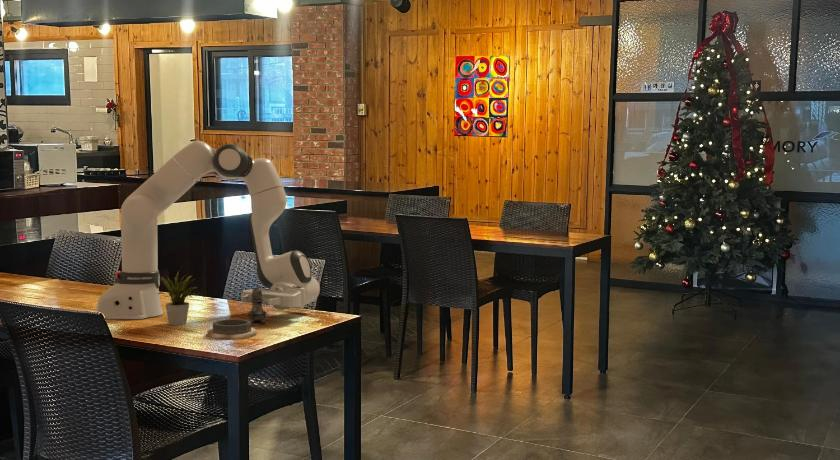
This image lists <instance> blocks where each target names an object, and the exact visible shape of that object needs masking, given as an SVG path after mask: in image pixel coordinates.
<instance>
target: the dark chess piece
mask: <svg viewBox="0 0 840 460" xmlns="http://www.w3.org/2000/svg"><path fill="white" fill-rule="evenodd" d="M252 289H253V291H252V300H251V301H252V303H251V310H250V311H248V312H247V315H248V318H249V319H250V321H251V326H264V325H266V323H267V322H265V321H263V320H265V318H266V316H267V312H268V311H265V310H264V309H263V304H262V301H263V300H262V290H261V289H262V288H260V287H259V286H258V285H256V287H255V288H252Z"/></svg>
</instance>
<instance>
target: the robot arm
mask: <svg viewBox="0 0 840 460" xmlns="http://www.w3.org/2000/svg"><path fill="white" fill-rule="evenodd" d="M208 173H214V174H215V175H217V176H219V177H220V178H222V179H224V180H227V181H235V180H236V181H237V180H239V179H241V180H242V181H243V182H244V183H245V185H246V187H247V189H248V192H249V196H250V200H251V203H252V211H251V214H250V217H249V228H250V233H251V239H252V245H253V251H254V255H255V261H256V277H257V280H258V281H259V283H260V284H261V285H262V286H263V287H265V288H267V289H265V288H264V289H262V288H260V289H261V290H262V300H263V301H262V305H266V306H273V307H274V309H276V310H278V311H279V310H280V311H281V310H282V311H284V310H290V309H303V308H305V305H308V304H311V303H312V302H314V301H315V300H317V298H318V297H319V295H320V291H321V287H320V282H318V280H317V279H316V278H315V277H314V276H313V275H312V265H311V263H310V262H311V261H310V260H309V258H308V257H307V256H306V255H305V254H304V253H303V252H302V251H300V250H298V249H297V250H296V249H295V250H291V251H288V252H285V253H283V254H279V255H277V256H273V251H272V246H271V241H270V228H271V226H272V225H273V223H274V222H275V221H276V220H277V219H278V218H279V217H280V216H281V215H282V214H283V213H284V210H285V209H286V207H287V201H288V200H287V194H286V191H285V188H284V185H283V182H282V179H281V177H280V175H279V172H278V170H277V169H276V167H275V165H274V163H273V162H272V160H271V159H269V158H267V157H266V158H265V157H258V158H254V159H253V158H252V156H250V154H248V153H247V152H246V151H245V150H244V149H243V148H242V147H240V146H239V145H236V144H233V143H225V144H223V145H220V146H219V147H218V148H217V149H215V148H213V147H212V146H210V145H209V144H208V143H207V142H205V141H202V140H194V141H192V142H191V143H189V144H187V145H186V146H184V147H183V148H182V149H181V150H179V151H178V152H176V154H174V155H173V156H172V157H171V158H169V160H168V161H166V162H165V163H164V164H163V165H162V166H161V167H160V168H159V169H158V170H157V171H155V172H154V173H153V174H152V175H151V176H150V177H148V179H146V180H145V181H144V182H143V183H142V184H141V185H140V186H139V187H138V188H136V189H135V190H134V191H133V192H132V193H131V194H130V195H128V196H127V197H126V199H124V201H123V203H122V205H121V208H120V232H121V233H120V235H121V236H120V237H121V271H120V270H117V271H116V272H115V273H114V277H115V278H114V279H115V283H114V284H113V285H112V286H110V287H109V288H108V289H106V290H105V291H104V292H103V293H102V294H101V295H100V296H99V297H98V300H97V305H96V309H94V310H93V311H98V312H101V313H103V314H104V316H105V318H106V319H105V320H143V319H147V318H152V317H158V316H161V315H163V314H164V310H163V307H162V303H161V299H160V298H161V296H160V294H158V293H159V292H160V290H159V289H160V286H161V285H160V284H161V283H160V282H161V277H160V276H161V275H160V270H159V269H158V267H159V265H158V263H159V261H158V259H159V258H158V256H159V255H158V254H159V253H158V247H159V245H158V242H159V241H158V217H159V216H161V215H162V214H163V213H164V212H165V211H166V210H167V209H168V208H170V207H171V206H172V205H174V204H175V202H176V201H178V200H179V199H180V198H181V197H182V196H183V195H185V194H186V192H188V191H189V190H190V189H191V188H192V187H193V186H194V185H196V183H198V182H199V181H200V180H201V179H202V178H203V177H204V176H206V175H207V174H208ZM153 277H155V278H153ZM157 278H158V279H157ZM159 279H160V280H159ZM253 289H254V288H252V289H245V290H242V291H241V295H240V297H241V302H242V303H247V304H248V303H249V304H250V303H251V304H252V301H251V300H252V291H253ZM159 296H160V297H159Z"/></svg>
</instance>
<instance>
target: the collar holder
mask: <svg viewBox="0 0 840 460" xmlns="http://www.w3.org/2000/svg"><path fill="white" fill-rule="evenodd" d="M251 322H252V320H248V319H240V318H239V319H238V318H233V319H231V318H229V319H227V318H225V319H219V320H215V321H213V322H212V328H210V329H208V330H207V333H206V334H207V335H206V336H207V337H208V338H211V339H218V340H241V339H249V338H253V337H255V336H257V334H258V333H257V332H258V331H257V329H256V328H254V327H252V325H251Z"/></svg>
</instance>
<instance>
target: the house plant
mask: <svg viewBox="0 0 840 460" xmlns="http://www.w3.org/2000/svg"><path fill="white" fill-rule="evenodd" d="M179 272H180V270H179V271H177V274H176V276H174V282H173V281H172V280H171V279H170V277H168V276H167V275H165V274H164V276H166V277H167V279H166V277H163V276H161V278H160V279H159V280H160V281H162V282H163V285H164V286H165V287H166V289H167V290H168V293H165V292H162V291H159V293H158V294H159V297H160V298H161V295H164V296H165V297H167V298H169V300H170V301H171V302H166V303H165V309H166V316H167V321H168V325H169V326H184V325H187V320H188V314H189V307H190V302H187V301H185V300H186V298H187V297H191V298H193V297H192V295H193V296H195V297H197V294H196V293H194V292H192V291H194V290H195V289H197V288H198V287H197V286H191V287H189V288H187V286H188V285H189V283H190V278H191V277H193V274H191V275H189V276H188V277H186V276H187V275H188V273H186V274H185V275H184V277H186V278H185V280H183V278H184V277H181V279H180V281H179ZM153 278H155V277H153ZM157 279H158V278H157ZM195 279H197V277H196V278H194V279H192V281H194V280H195ZM182 280H183V281H182ZM186 288H187V289H186Z"/></svg>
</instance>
